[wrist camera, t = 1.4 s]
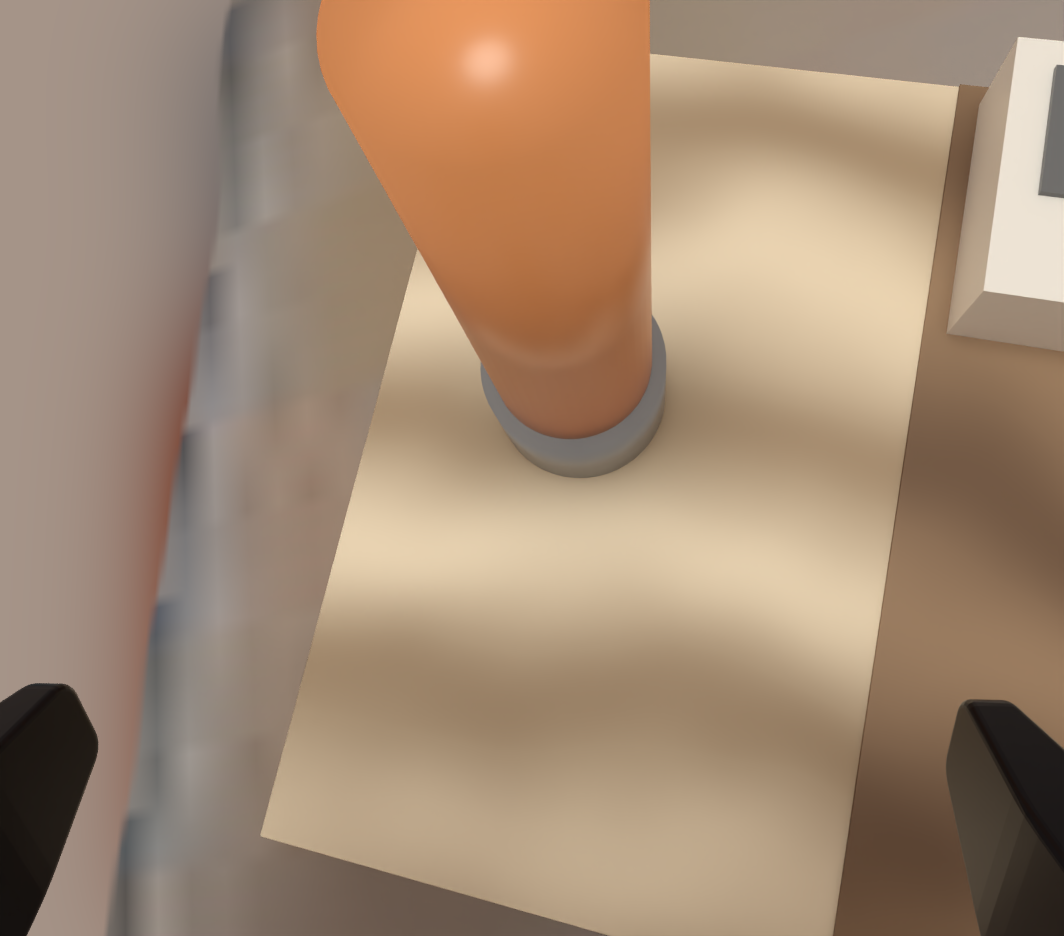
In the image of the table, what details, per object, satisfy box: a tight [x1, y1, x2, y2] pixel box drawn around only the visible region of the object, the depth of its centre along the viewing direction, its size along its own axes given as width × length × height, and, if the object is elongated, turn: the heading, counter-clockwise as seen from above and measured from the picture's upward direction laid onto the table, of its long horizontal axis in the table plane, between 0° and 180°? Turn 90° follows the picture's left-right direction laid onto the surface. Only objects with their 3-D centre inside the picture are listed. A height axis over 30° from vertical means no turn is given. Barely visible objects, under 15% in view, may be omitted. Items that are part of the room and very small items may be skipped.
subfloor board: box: [260, 54, 1064, 936], centre depth 21 cm, size 21×24×2 cm
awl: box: [317, 0, 666, 478], centre depth 15 cm, size 4×4×13 cm
